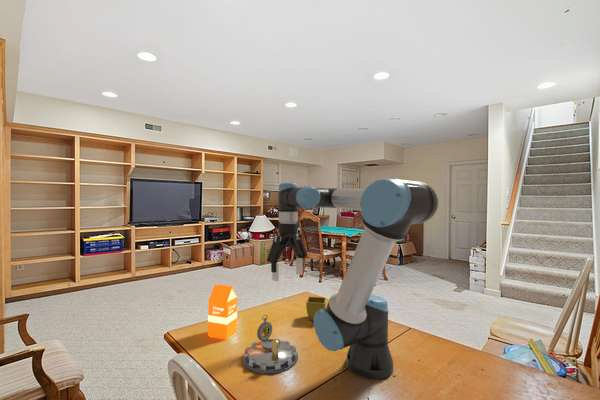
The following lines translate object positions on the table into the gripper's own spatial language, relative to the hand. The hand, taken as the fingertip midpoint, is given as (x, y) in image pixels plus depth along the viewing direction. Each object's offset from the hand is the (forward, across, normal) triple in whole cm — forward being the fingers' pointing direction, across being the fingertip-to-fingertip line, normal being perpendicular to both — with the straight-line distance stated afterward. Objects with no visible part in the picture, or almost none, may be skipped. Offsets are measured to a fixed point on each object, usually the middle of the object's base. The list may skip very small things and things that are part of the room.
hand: (287, 277), depth 111 cm
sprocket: (+25, +12, +3) cm, 28 cm away
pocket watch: (+23, +10, 0) cm, 25 cm away
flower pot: (+25, -25, -6) cm, 36 cm away
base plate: (+25, +12, +3) cm, 28 cm away
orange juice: (+25, +12, -25) cm, 37 cm away
